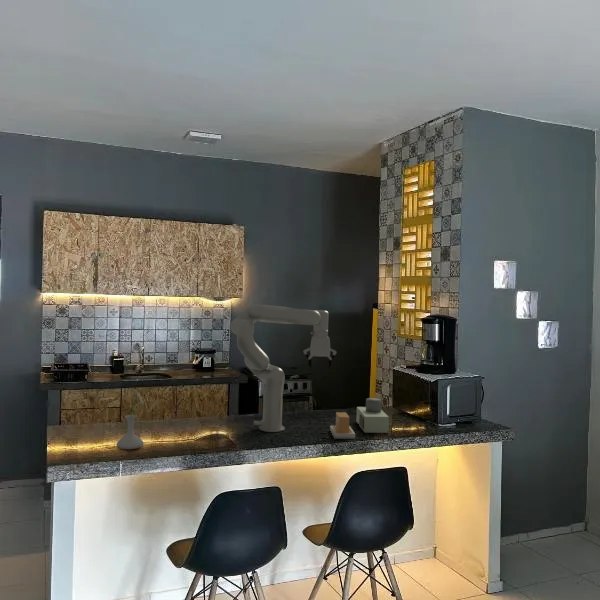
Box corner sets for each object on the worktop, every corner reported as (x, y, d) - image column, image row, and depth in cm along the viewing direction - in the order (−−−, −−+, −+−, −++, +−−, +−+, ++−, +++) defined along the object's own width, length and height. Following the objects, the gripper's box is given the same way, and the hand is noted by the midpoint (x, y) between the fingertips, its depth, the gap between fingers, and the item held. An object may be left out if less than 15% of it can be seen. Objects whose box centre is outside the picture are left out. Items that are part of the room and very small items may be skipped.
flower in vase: (134, 452, 253) (136, 393, 252) (110, 449, 256) (112, 391, 255) (150, 445, 265) (152, 388, 265) (127, 442, 268) (129, 386, 268)
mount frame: (334, 438, 287) (334, 433, 287) (329, 430, 303) (330, 425, 303) (355, 438, 288) (355, 433, 288) (349, 430, 304) (349, 425, 303)
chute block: (338, 435, 289) (339, 417, 289) (335, 430, 300) (336, 412, 300) (348, 435, 290) (349, 417, 290) (345, 430, 301) (346, 412, 301)
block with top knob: (363, 432, 301) (364, 404, 301) (355, 421, 325) (356, 395, 325) (388, 432, 302) (389, 404, 302) (378, 421, 326) (379, 396, 326)
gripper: (304, 334, 308) (303, 367, 308) (338, 335, 309) (337, 368, 310) (303, 333, 315) (302, 365, 316) (336, 334, 317) (335, 366, 317)
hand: (319, 367), depth 313 cm, fingers open, 9 cm apart
